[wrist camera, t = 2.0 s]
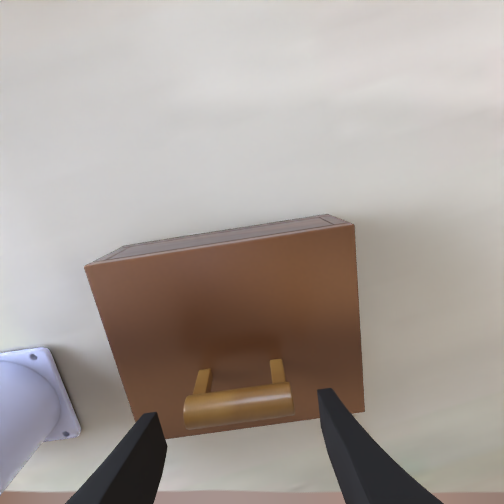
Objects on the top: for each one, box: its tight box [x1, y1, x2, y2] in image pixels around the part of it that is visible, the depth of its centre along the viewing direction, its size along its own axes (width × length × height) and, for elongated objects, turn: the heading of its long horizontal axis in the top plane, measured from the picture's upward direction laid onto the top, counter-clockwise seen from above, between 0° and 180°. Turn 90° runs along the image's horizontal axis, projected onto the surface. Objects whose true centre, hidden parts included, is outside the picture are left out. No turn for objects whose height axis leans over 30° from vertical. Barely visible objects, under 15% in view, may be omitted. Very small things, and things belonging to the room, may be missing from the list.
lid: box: [84, 223, 365, 439], centre depth 13 cm, size 11×14×4 cm
